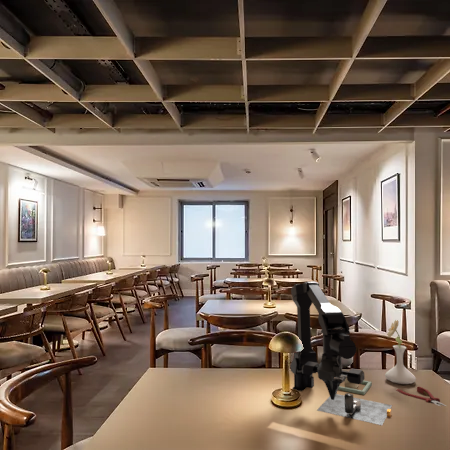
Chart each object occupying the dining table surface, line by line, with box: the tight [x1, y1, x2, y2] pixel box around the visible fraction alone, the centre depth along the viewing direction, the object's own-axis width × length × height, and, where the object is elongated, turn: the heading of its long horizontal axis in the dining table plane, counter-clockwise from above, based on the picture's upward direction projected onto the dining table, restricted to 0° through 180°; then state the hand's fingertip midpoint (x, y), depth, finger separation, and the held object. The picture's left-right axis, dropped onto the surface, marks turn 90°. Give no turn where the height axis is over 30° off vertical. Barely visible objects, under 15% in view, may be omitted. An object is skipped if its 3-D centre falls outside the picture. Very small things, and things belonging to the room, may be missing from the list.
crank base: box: [316, 393, 393, 426], centre depth 130 cm, size 21×17×3 cm
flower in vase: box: [384, 319, 417, 385], centre depth 158 cm, size 13×11×25 cm
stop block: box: [344, 378, 359, 389], centre depth 149 cm, size 4×4×5 cm
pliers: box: [395, 386, 447, 407], centre depth 137 cm, size 12×20×3 cm, turn 16°
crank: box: [344, 392, 361, 414], centre depth 127 cm, size 10×4×6 cm, turn 148°
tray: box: [338, 379, 373, 396], centre depth 149 cm, size 12×12×2 cm
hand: (332, 399), depth 127 cm, fingers closed
